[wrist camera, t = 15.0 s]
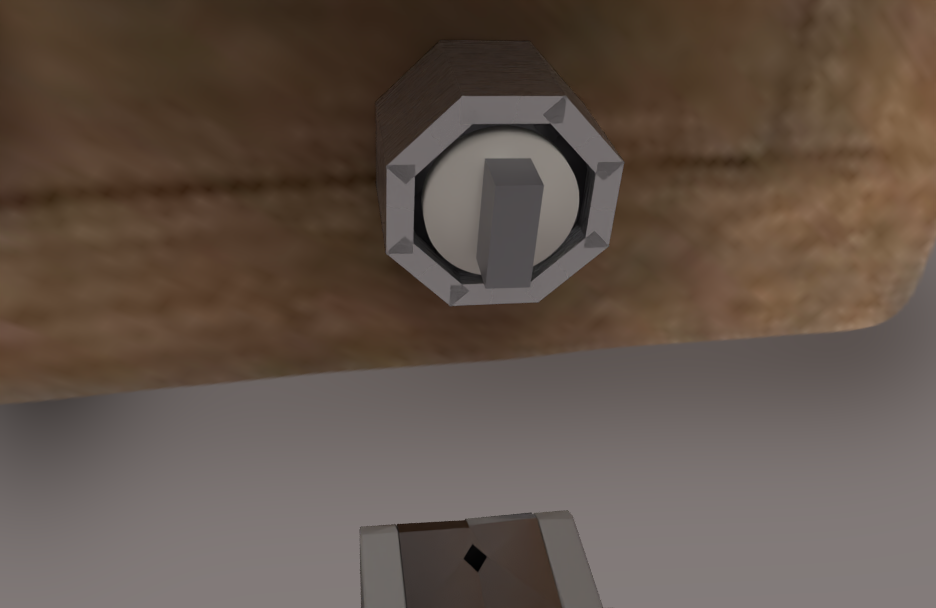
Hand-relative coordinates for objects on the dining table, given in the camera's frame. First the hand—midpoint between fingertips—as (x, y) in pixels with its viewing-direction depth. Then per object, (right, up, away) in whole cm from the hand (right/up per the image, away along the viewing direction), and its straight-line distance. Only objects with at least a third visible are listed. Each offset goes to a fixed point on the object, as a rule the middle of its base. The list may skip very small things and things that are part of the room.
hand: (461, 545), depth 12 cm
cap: (+1, +8, +26) cm, 27 cm away
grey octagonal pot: (+1, +12, +30) cm, 33 cm away
